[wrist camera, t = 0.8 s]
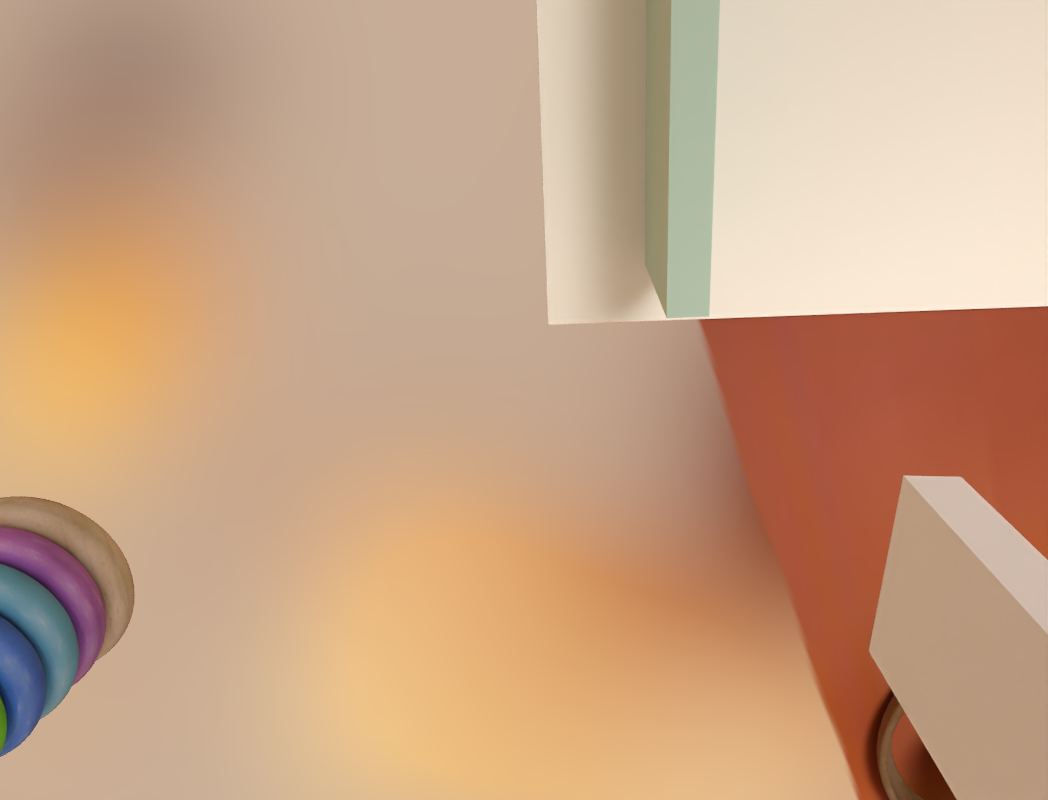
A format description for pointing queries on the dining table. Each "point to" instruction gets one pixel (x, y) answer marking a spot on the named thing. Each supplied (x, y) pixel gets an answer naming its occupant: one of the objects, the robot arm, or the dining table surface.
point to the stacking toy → (53, 607)
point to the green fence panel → (680, 151)
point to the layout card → (809, 158)
